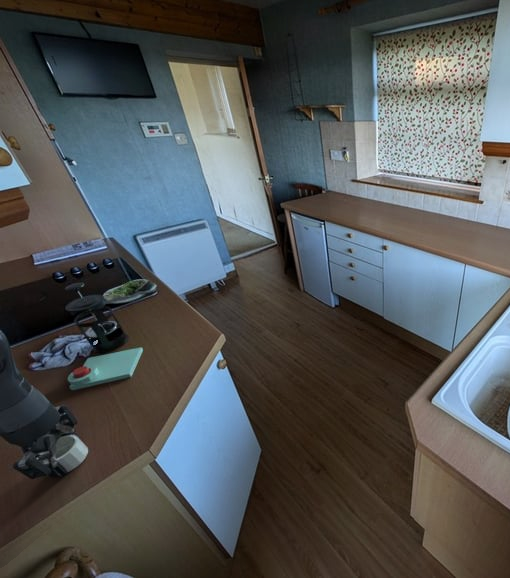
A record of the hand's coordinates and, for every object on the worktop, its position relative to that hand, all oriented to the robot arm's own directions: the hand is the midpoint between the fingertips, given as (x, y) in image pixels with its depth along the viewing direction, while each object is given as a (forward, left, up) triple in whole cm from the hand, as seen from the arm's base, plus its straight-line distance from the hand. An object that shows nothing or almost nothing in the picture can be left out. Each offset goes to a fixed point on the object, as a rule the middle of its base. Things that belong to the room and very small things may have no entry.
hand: (68, 459), depth 66 cm
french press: (-6, +44, -1) cm, 44 cm away
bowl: (0, 0, -1) cm, 1 cm away
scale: (-2, +30, -1) cm, 30 cm away
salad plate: (-9, +78, -1) cm, 78 cm away
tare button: (-6, +27, +2) cm, 28 cm away
